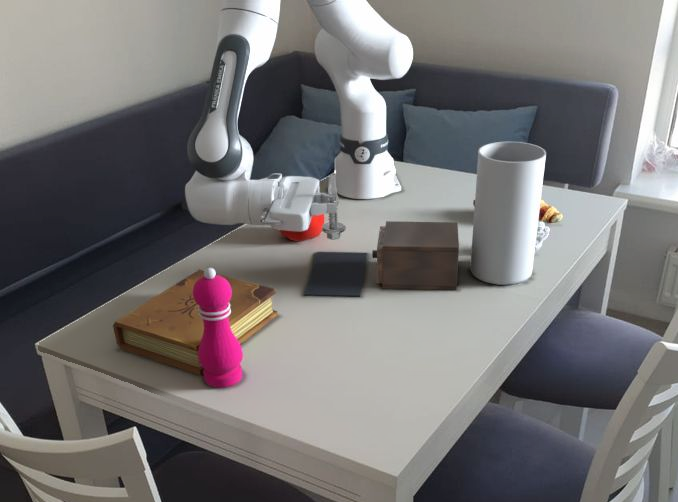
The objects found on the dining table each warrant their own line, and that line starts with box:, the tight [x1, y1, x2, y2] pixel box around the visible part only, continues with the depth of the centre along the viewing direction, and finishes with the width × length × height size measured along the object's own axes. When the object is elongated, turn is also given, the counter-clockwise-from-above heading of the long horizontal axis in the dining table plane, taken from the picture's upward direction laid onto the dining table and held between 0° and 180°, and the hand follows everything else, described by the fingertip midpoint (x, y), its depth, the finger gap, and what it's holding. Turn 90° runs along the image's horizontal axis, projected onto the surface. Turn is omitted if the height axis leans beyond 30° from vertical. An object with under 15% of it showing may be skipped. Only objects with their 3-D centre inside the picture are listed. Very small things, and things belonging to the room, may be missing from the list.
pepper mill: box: [193, 267, 244, 389], centre depth 127 cm, size 7×7×20 cm
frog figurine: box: [534, 221, 551, 253], centre depth 170 cm, size 6×7×7 cm
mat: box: [304, 251, 368, 298], centre depth 165 cm, size 20×11×1 cm, turn 175°
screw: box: [321, 173, 347, 241], centre depth 157 cm, size 13×5×5 cm
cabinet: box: [382, 220, 460, 291], centre depth 161 cm, size 15×13×9 cm
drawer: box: [371, 225, 386, 284], centre depth 161 cm, size 15×11×7 cm
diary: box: [112, 269, 278, 376], centre depth 144 cm, size 23×19×6 cm
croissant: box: [472, 198, 564, 224], centre depth 186 cm, size 21×10×8 cm, turn 68°
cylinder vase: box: [469, 141, 547, 286], centre depth 157 cm, size 12×12×25 cm
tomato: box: [279, 214, 326, 242], centre depth 179 cm, size 11×12×9 cm
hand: (337, 204), depth 156 cm, fingers closed on screw, 2 cm apart
